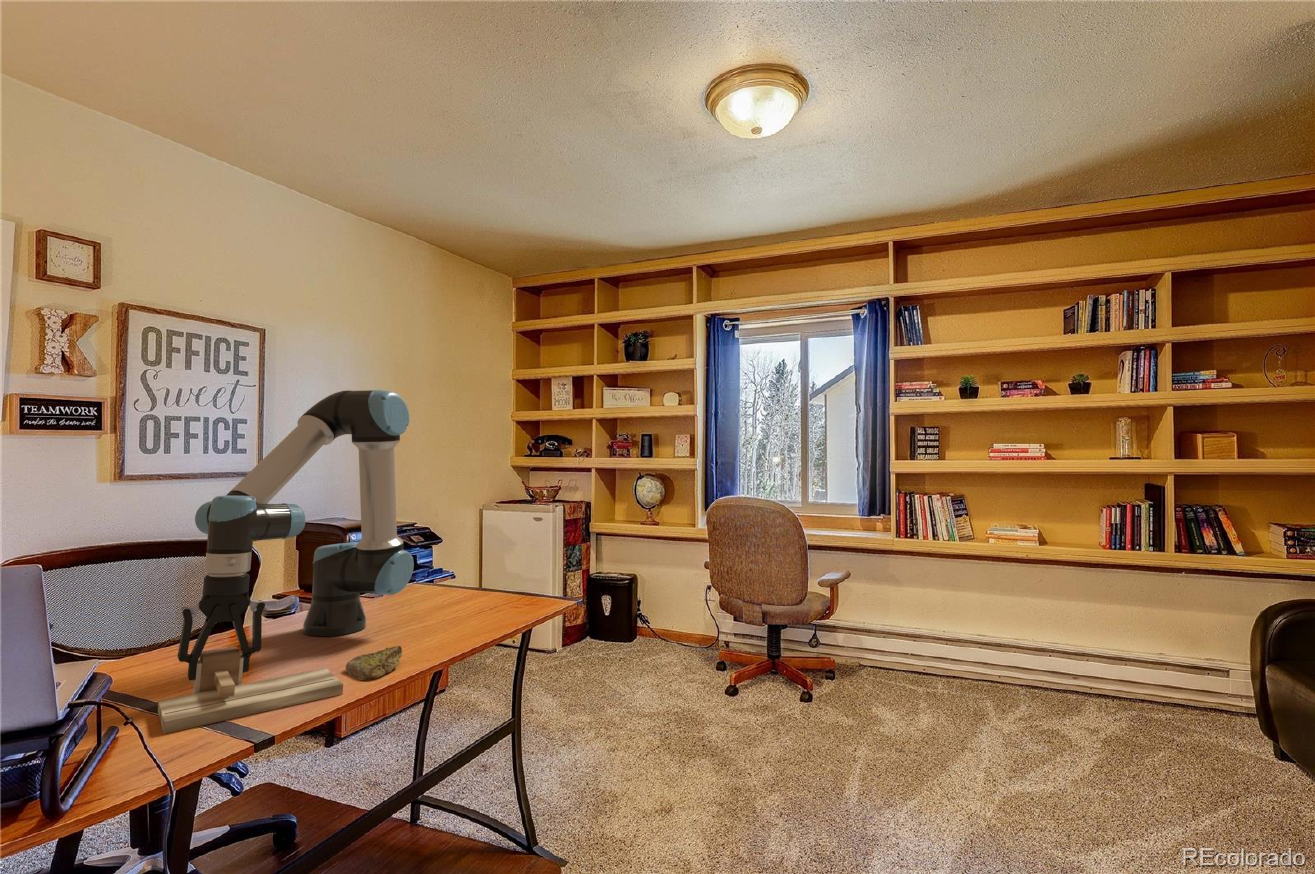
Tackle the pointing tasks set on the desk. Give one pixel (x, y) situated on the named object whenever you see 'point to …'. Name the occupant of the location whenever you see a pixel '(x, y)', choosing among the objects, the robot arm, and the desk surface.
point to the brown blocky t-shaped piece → (220, 671)
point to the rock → (374, 663)
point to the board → (246, 699)
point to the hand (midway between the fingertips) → (217, 692)
